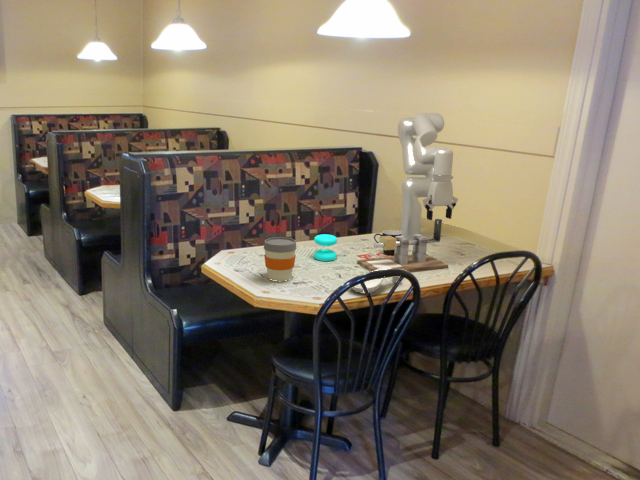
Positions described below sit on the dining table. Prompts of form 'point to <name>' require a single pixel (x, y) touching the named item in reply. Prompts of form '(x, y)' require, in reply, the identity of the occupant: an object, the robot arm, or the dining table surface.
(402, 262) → the wooden base with brackets
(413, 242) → the shaft
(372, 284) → the spoon rest
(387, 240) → the block
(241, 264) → the dining table surface
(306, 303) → the dining table surface
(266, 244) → the reusable coffee cup
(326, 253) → the turquoise hourglass
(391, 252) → the coffee mug
